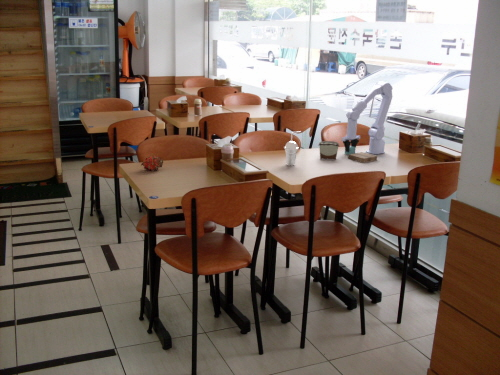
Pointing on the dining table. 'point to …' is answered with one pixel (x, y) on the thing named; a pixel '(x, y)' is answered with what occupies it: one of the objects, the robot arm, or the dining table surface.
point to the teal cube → (351, 150)
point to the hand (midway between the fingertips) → (350, 151)
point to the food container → (328, 150)
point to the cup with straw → (291, 151)
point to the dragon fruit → (152, 163)
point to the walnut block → (362, 157)
